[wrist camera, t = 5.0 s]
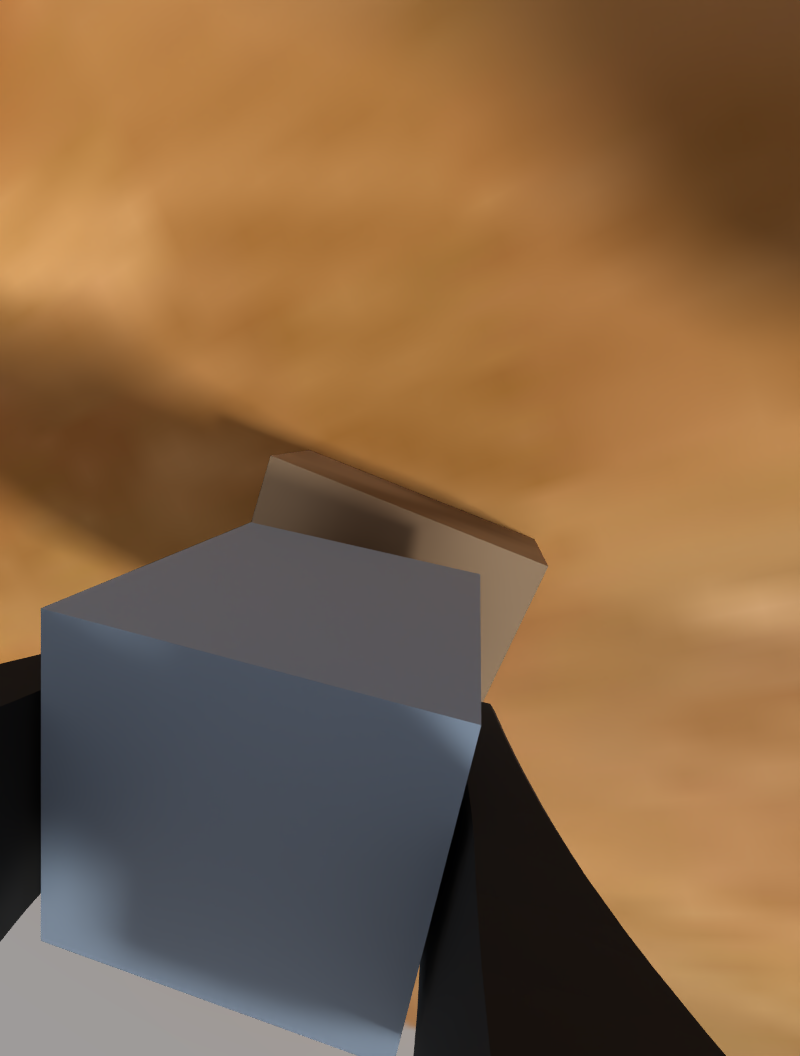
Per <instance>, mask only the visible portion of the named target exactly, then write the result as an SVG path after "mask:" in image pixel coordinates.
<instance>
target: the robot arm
mask: <svg viewBox="0 0 800 1056" xmlns="http://www.w3.org/2000/svg"><path fill="white" fill-rule="evenodd" d="M40 893H41V654H40V655H35V656H31V657H27V658H23V659H19V660H15V661H10V662H6V663H2V664H0V941H1V940H2V939H3V938H4V936H5V935H6V934H7V933H8V931H9V930H10V929H11V927H12V926H13V925H14V923H16V921H17V920H18V919H19V918H20V916H21V915H22V914H23V913H24V912H25V910H26V909H27V908H28V907H29V906H30V905H31V904H32V903H33V901H34V900H35V899H36V898H37V897H38V896H39V895H40ZM414 1056H726V1055H725V1054H724V1053H723V1052H722V1051H721V1049H720V1048H719V1047H718V1046H717V1045H716V1044H715V1042H714V1041H713V1040H712V1039H711V1038H710V1036H709V1035H708V1034H707V1033H706V1032H705V1030H704V1029H703V1028H702V1027H701V1026H700V1024H699V1023H698V1022H697V1021H696V1019H695V1018H694V1017H693V1016H692V1014H691V1013H690V1012H689V1011H688V1010H687V1008H686V1007H685V1006H684V1005H683V1003H682V1002H681V1001H680V1000H679V998H678V997H677V996H676V995H675V994H674V992H673V991H672V990H671V989H670V987H669V986H668V985H667V984H666V983H665V981H664V980H663V979H662V978H661V976H660V975H659V974H658V973H657V971H656V970H655V969H654V968H653V967H652V965H651V964H650V963H649V961H648V960H647V959H646V957H645V956H644V955H643V954H642V952H641V951H640V950H639V948H638V947H637V946H636V945H635V943H634V942H633V941H632V939H631V938H630V937H629V935H628V934H627V933H626V931H625V930H624V929H623V927H622V926H621V925H620V923H619V922H618V920H617V919H616V918H615V916H614V915H613V913H612V912H611V911H610V909H609V908H608V906H607V905H606V904H605V902H604V901H603V900H602V898H601V897H600V895H599V894H598V893H597V891H596V890H595V888H594V887H593V886H592V884H591V883H590V881H589V880H588V879H587V877H586V876H585V874H584V873H583V871H582V870H581V868H580V867H579V865H578V863H577V862H576V860H575V859H574V857H573V856H572V854H571V853H570V851H569V849H568V848H567V846H566V845H565V843H564V841H563V840H562V838H561V836H560V835H559V833H558V832H557V830H556V828H555V827H554V825H553V823H552V822H551V820H550V818H549V817H548V815H547V813H546V811H545V810H544V808H543V806H542V805H541V803H540V801H539V799H538V797H537V795H536V794H535V792H534V790H533V788H532V786H531V784H530V783H529V781H528V779H527V777H526V775H525V774H524V772H523V770H522V768H521V766H520V764H519V762H518V760H517V758H516V756H515V754H514V752H513V750H512V748H511V746H510V744H509V742H508V740H507V738H506V735H505V733H504V731H503V729H502V727H501V725H500V722H499V720H498V718H497V716H496V713H495V711H494V709H493V708H492V706H491V704H488V703H484V702H481V728H480V732H479V736H478V740H477V744H476V748H475V752H474V755H473V759H472V763H471V767H470V771H469V775H468V779H467V782H466V786H465V790H464V794H463V798H462V802H461V806H460V810H459V813H458V817H457V821H456V825H455V829H454V833H453V837H452V840H451V844H450V848H449V852H448V856H447V860H446V864H445V868H444V871H443V875H442V879H441V883H440V887H439V891H438V895H437V899H436V902H435V906H434V910H433V914H432V918H431V922H430V926H429V929H428V933H427V937H426V941H425V945H424V949H423V953H422V957H421V960H420V971H419V991H418V1009H417V1021H416V1033H415V1046H414Z"/></svg>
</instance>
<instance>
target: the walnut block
mask: <svg viewBox="0 0 800 1056" xmlns="http://www.w3.org/2000/svg"><path fill="white" fill-rule="evenodd" d="M251 522H252V523H256V524H261V525H265V526H270V527H274V528H278V529H283V530H287V531H292V532H296V533H301V534H305V535H309V536H314V537H318V538H323V539H327V540H331V541H336V542H340V543H345V544H349V545H354V546H358V547H362V548H367V549H371V550H376V551H380V552H384V553H389V554H393V555H398V556H402V557H406V558H411V559H415V560H420V561H424V562H429V563H433V564H437V565H442V566H446V567H451V568H455V569H459V570H464V571H468V572H473V573H477V574H480V618H481V702H483V701H484V698H485V696H486V694H487V692H488V690H489V688H490V686H491V684H492V682H493V680H494V678H495V676H496V674H497V671H498V669H499V667H500V665H501V663H502V661H503V659H504V657H505V655H506V653H507V651H508V649H509V647H510V644H511V642H512V640H513V638H514V636H515V634H516V632H517V630H518V628H519V626H520V624H521V622H522V620H523V617H524V615H525V613H526V611H527V609H528V607H529V605H530V603H531V601H532V599H533V597H534V595H535V593H536V590H537V588H538V586H539V584H540V582H541V580H542V578H543V576H544V574H545V572H546V570H547V568H548V565H547V563H546V561H545V559H544V557H543V555H542V553H541V551H540V549H539V547H538V545H537V543H536V541H535V539H532V538H530V537H527V536H525V535H522V534H520V533H517V532H515V531H512V530H510V529H507V528H505V527H502V526H500V525H497V524H494V523H492V522H489V521H487V520H484V519H482V518H479V517H477V516H474V515H472V514H469V513H467V512H464V511H462V510H459V509H457V508H454V507H452V506H449V505H447V504H444V503H442V502H439V501H437V500H434V499H431V498H429V497H426V496H424V495H421V494H419V493H416V492H414V491H411V490H409V489H406V488H404V487H401V486H399V485H396V484H394V483H391V482H389V481H386V480H384V479H381V478H379V477H376V476H374V475H371V474H368V473H366V472H363V471H361V470H358V469H356V468H353V467H351V466H348V465H346V464H343V463H341V462H338V461H336V460H333V459H331V458H328V457H326V456H323V455H321V454H318V453H316V452H313V451H311V450H306V451H299V452H292V453H284V454H277V455H271V456H270V460H269V463H268V466H267V470H266V473H265V477H264V480H263V484H262V487H261V491H260V494H259V497H258V501H257V504H256V508H255V511H254V515H253V518H252V521H251Z"/></svg>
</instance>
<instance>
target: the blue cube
mask: <svg viewBox="0 0 800 1056" xmlns="http://www.w3.org/2000/svg"><path fill="white" fill-rule="evenodd" d="M480 728H481V618H480V574H477V573H473V572H468V571H464V570H459V569H455V568H451V567H446V566H442V565H437V564H433V563H429V562H424V561H420V560H415V559H411V558H406V557H402V556H398V555H393V554H389V553H384V552H380V551H376V550H371V549H367V548H362V547H358V546H354V545H349V544H345V543H340V542H336V541H331V540H327V539H323V538H318V537H314V536H309V535H305V534H301V533H296V532H292V531H287V530H283V529H278V528H274V527H270V526H265V525H261V524H256V523H252V522H250V523H248V524H246V525H243V526H241V527H238V528H236V529H233V530H231V531H228V532H226V533H224V534H221V535H219V536H216V537H214V538H211V539H209V540H206V541H204V542H202V543H199V544H197V545H194V546H192V547H189V548H187V549H185V550H182V551H180V552H177V553H175V554H172V555H170V556H167V557H165V558H163V559H160V560H158V561H155V562H153V563H150V564H148V565H145V566H143V567H141V568H138V569H136V570H133V571H131V572H128V573H126V574H123V575H121V576H119V577H116V578H114V579H111V580H109V581H106V582H104V583H101V584H99V585H97V586H94V587H92V588H89V589H87V590H84V591H82V592H79V593H77V594H75V595H72V596H70V597H67V598H65V599H62V600H60V601H58V602H55V603H53V604H50V605H48V606H45V607H43V608H41V941H43V942H46V943H49V944H51V945H54V946H57V947H60V948H62V949H65V950H68V951H71V952H73V953H76V954H79V955H82V956H85V957H87V958H90V959H93V960H96V961H98V962H101V963H104V964H106V965H109V966H112V967H115V968H118V969H120V970H123V971H126V972H129V973H131V974H134V975H137V976H140V977H142V978H145V979H148V980H151V981H153V982H156V983H159V984H162V985H164V986H167V987H170V988H173V989H175V990H178V991H181V992H184V993H186V994H189V995H192V996H195V997H197V998H200V999H203V1000H206V1001H208V1002H211V1003H214V1004H217V1005H220V1006H222V1007H225V1008H228V1009H230V1010H233V1011H236V1012H239V1013H242V1014H244V1015H247V1016H250V1017H253V1018H255V1019H258V1020H261V1021H264V1022H266V1023H269V1024H272V1025H275V1026H278V1027H280V1028H283V1029H286V1030H289V1031H291V1032H294V1033H297V1034H299V1035H302V1036H305V1037H308V1038H310V1039H313V1040H316V1041H319V1042H321V1043H324V1044H327V1045H330V1046H333V1047H335V1048H338V1049H341V1050H344V1051H346V1052H349V1053H352V1054H355V1055H357V1056H396V1053H397V1049H398V1045H399V1042H400V1038H401V1034H402V1030H403V1026H404V1022H405V1018H406V1015H407V1011H408V1007H409V1003H410V999H411V995H412V991H413V987H414V984H415V980H416V976H417V972H418V968H419V964H420V960H421V957H422V953H423V949H424V945H425V941H426V937H427V933H428V929H429V926H430V922H431V918H432V914H433V910H434V906H435V902H436V899H437V895H438V891H439V887H440V883H441V879H442V875H443V871H444V868H445V864H446V860H447V856H448V852H449V848H450V844H451V840H452V837H453V833H454V829H455V825H456V821H457V817H458V813H459V810H460V806H461V802H462V798H463V794H464V790H465V786H466V782H467V779H468V775H469V771H470V767H471V763H472V759H473V755H474V752H475V748H476V744H477V740H478V736H479V732H480Z"/></svg>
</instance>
